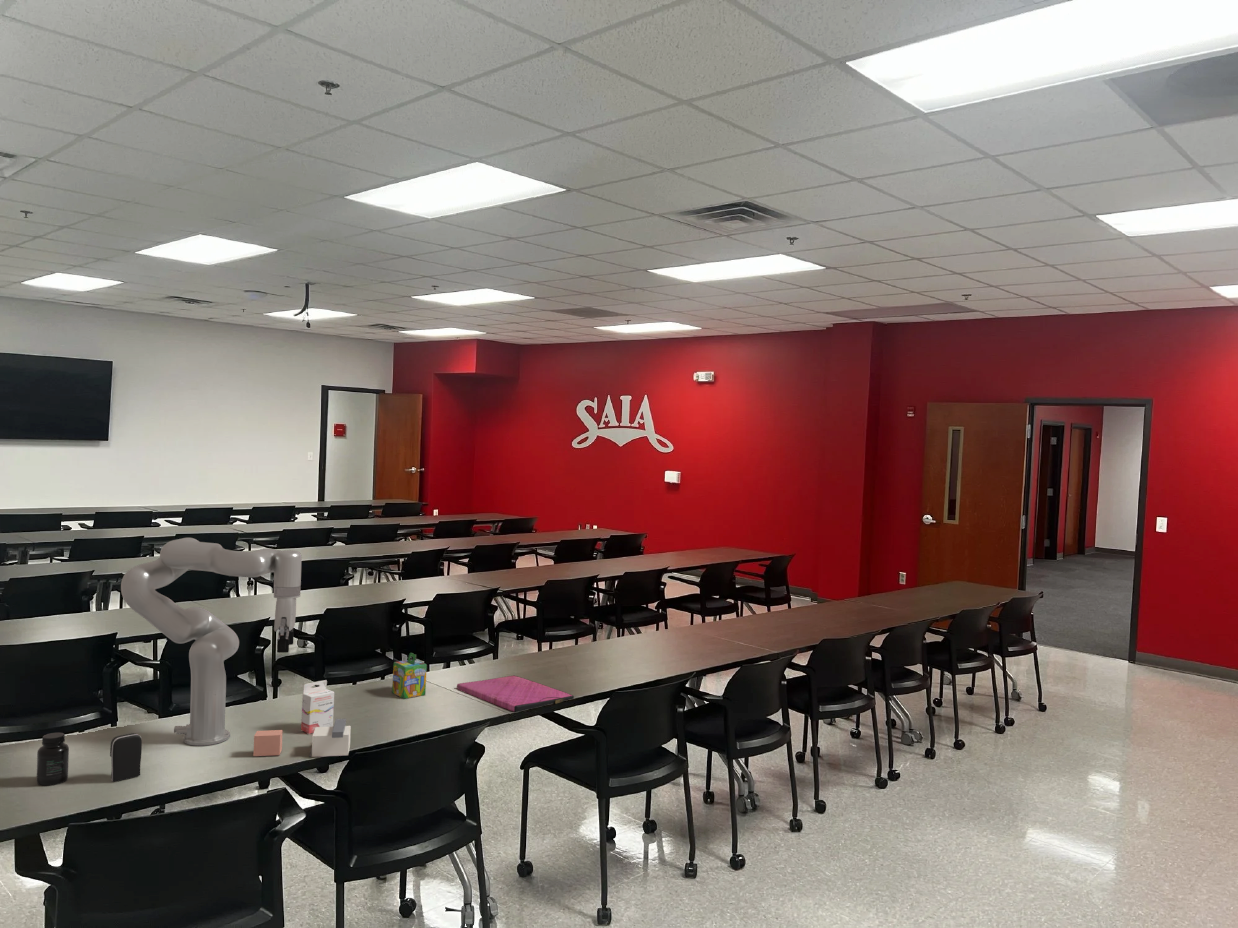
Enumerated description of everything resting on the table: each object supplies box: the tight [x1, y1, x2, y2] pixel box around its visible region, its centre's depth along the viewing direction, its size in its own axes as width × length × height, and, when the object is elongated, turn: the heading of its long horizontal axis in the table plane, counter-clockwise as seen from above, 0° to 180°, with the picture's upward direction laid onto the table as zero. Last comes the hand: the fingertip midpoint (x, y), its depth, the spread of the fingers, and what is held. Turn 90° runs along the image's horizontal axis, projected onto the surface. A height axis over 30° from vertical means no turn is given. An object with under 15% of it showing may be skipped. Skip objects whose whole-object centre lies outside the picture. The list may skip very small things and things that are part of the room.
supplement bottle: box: [36, 732, 70, 787], centre depth 220 cm, size 7×7×12 cm
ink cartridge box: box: [300, 679, 335, 735], centre depth 267 cm, size 9×5×15 cm, turn 141°
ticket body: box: [309, 718, 352, 758], centre depth 249 cm, size 11×12×8 cm
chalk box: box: [391, 652, 428, 700], centre depth 307 cm, size 9×9×15 cm
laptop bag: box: [456, 675, 575, 713], centre depth 312 cm, size 40×4×27 cm
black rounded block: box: [109, 732, 143, 782], centre depth 224 cm, size 7×4×11 cm, turn 137°
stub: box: [253, 729, 283, 757], centre depth 245 cm, size 7×4×6 cm, turn 104°
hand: (285, 648), depth 254 cm, fingers open, 9 cm apart
